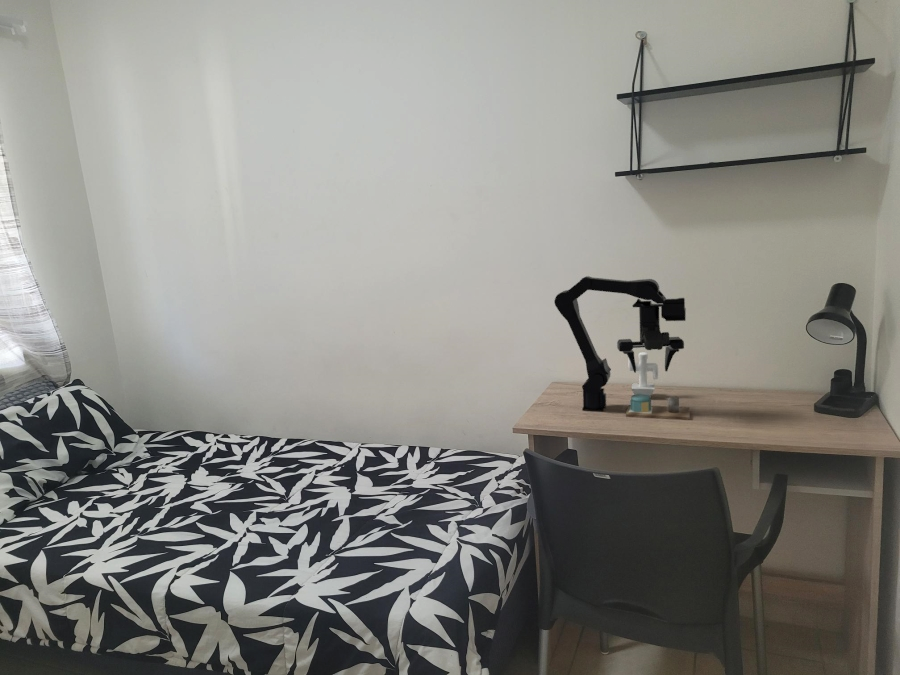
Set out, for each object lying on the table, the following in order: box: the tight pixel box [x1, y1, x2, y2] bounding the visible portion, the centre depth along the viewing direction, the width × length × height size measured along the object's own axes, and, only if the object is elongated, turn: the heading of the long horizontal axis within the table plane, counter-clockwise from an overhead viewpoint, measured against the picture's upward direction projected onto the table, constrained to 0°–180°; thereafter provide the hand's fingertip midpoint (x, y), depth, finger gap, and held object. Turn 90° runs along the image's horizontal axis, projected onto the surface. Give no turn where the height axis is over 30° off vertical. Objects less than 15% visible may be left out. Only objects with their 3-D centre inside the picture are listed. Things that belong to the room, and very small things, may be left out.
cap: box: [629, 394, 652, 412], centre depth 190 cm, size 6×6×4 cm
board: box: [625, 396, 691, 421], centre depth 188 cm, size 18×10×5 cm, turn 69°
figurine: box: [627, 351, 659, 398], centre depth 206 cm, size 7×9×15 cm
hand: (650, 371), depth 189 cm, fingers open, 9 cm apart
